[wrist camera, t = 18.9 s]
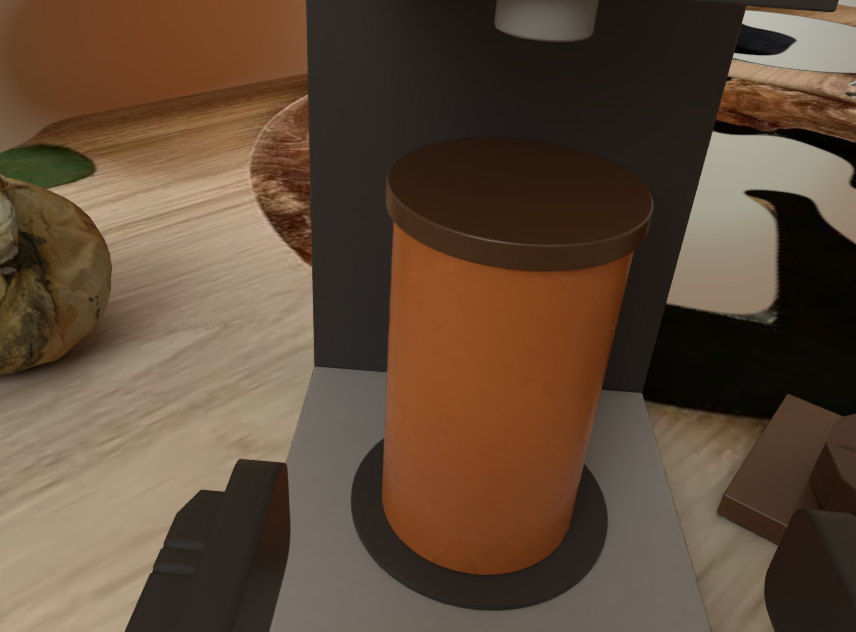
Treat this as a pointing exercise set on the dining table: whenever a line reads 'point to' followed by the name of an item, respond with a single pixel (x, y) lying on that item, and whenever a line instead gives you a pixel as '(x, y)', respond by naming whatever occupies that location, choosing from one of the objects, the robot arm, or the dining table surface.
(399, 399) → the orange lidded canister
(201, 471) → the dining table surface
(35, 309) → the onion
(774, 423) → the control block
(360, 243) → the dark brown rectangular box
